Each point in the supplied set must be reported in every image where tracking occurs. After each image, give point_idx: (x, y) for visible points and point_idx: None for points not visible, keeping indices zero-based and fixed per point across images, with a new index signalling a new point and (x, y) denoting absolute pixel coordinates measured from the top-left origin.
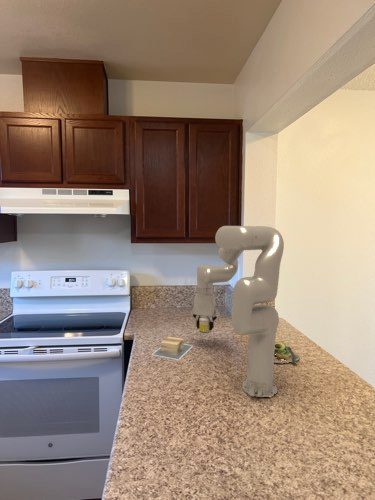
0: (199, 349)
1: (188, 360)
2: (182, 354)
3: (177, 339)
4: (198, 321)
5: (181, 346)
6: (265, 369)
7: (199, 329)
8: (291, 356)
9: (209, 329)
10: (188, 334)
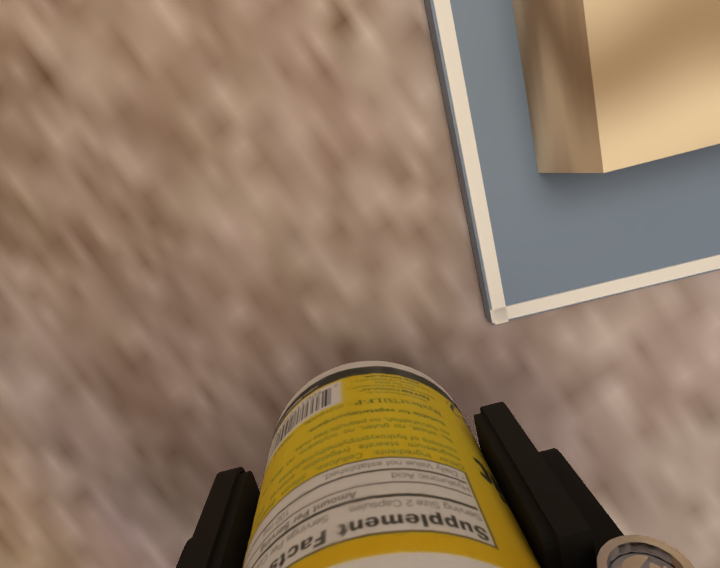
0: (416, 320)
1: (350, 6)
2: (466, 39)
3: (678, 94)
4: (541, 529)
5: (553, 104)
6: None
7: (450, 409)
8: None
9: (243, 476)
10: (708, 549)
